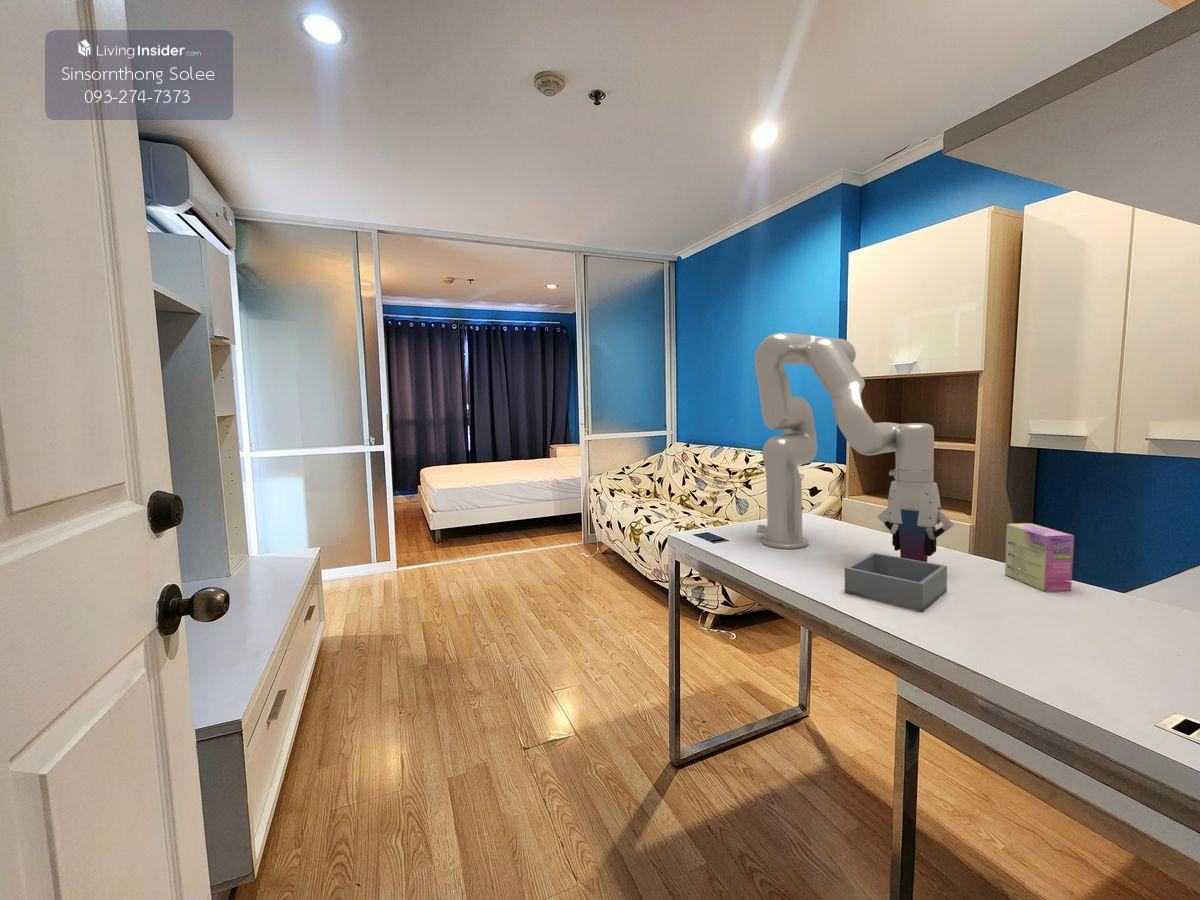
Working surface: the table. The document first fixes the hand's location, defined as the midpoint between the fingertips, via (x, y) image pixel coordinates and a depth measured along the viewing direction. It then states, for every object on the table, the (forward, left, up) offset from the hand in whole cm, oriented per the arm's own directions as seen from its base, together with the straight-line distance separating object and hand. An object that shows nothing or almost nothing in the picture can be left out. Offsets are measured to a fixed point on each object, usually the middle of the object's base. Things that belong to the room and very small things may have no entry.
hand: (913, 551), depth 118 cm
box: (+21, +8, -5) cm, 23 cm away
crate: (+2, -17, -5) cm, 18 cm away
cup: (0, 0, -5) cm, 5 cm away
